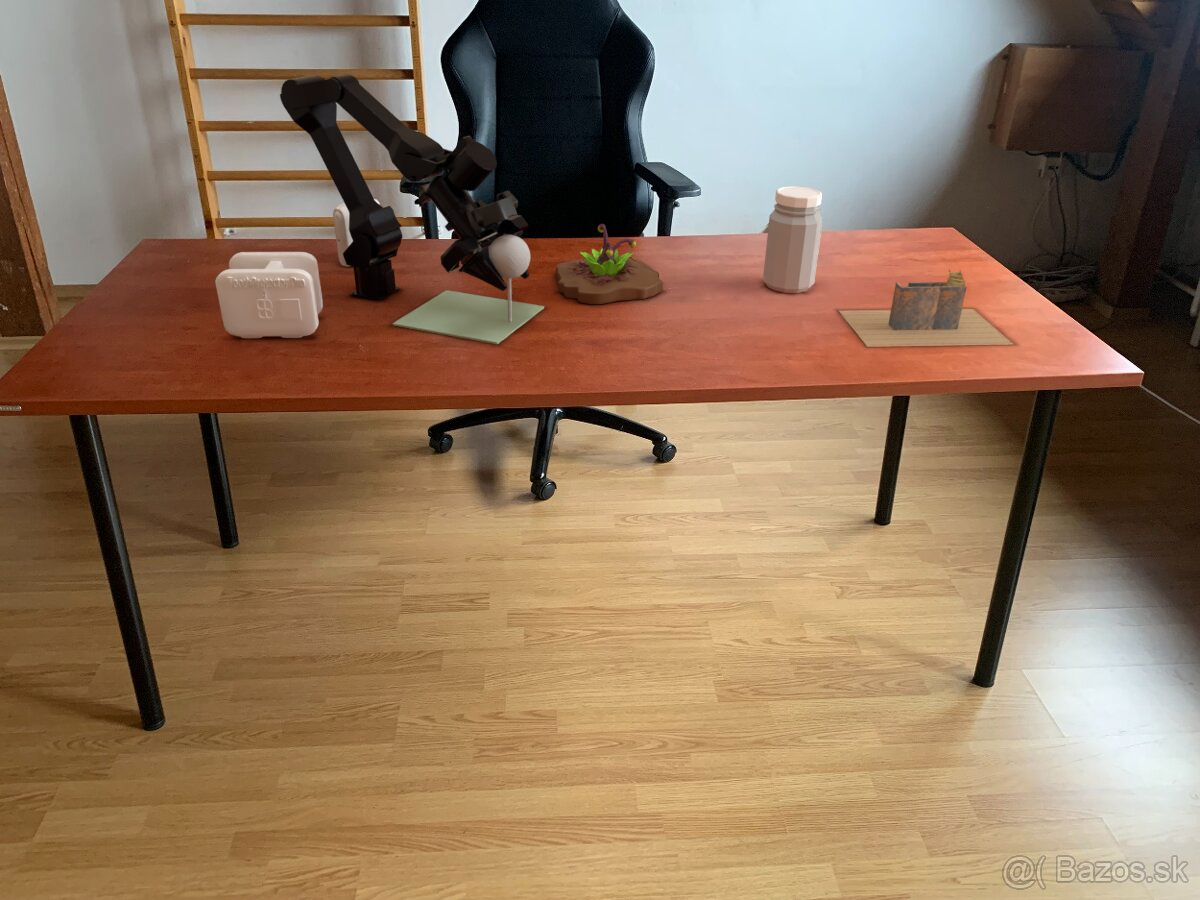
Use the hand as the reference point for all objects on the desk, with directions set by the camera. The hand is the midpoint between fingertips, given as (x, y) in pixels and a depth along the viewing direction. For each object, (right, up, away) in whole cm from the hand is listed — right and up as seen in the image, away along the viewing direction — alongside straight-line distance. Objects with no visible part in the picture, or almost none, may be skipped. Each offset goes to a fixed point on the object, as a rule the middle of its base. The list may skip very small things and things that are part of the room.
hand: (516, 283), depth 157 cm
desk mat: (-9, -5, +7) cm, 12 cm away
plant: (+15, +3, +22) cm, 27 cm away
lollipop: (-2, -6, +4) cm, 7 cm away
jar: (+50, +3, +23) cm, 55 cm away
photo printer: (-34, +10, +32) cm, 48 cm away
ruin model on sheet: (+70, -7, +6) cm, 71 cm away
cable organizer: (-40, -8, +1) cm, 41 cm away
